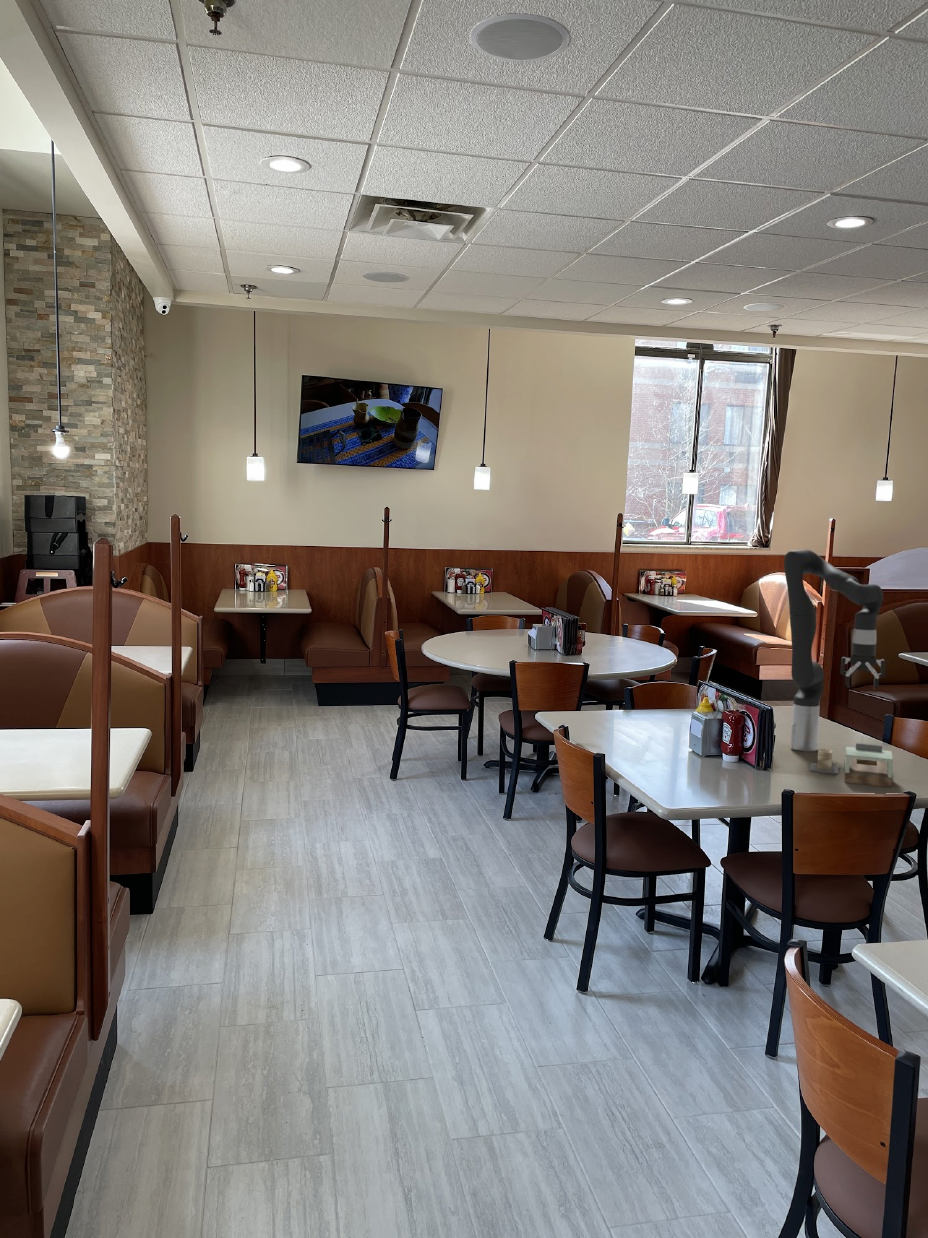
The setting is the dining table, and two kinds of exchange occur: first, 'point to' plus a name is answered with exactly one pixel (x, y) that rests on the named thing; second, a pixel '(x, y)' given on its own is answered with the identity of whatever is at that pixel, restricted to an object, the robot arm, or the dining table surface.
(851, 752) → the pale green toy table
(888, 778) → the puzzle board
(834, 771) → the rubber mat
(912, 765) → the dining table surface
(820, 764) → the birch block
